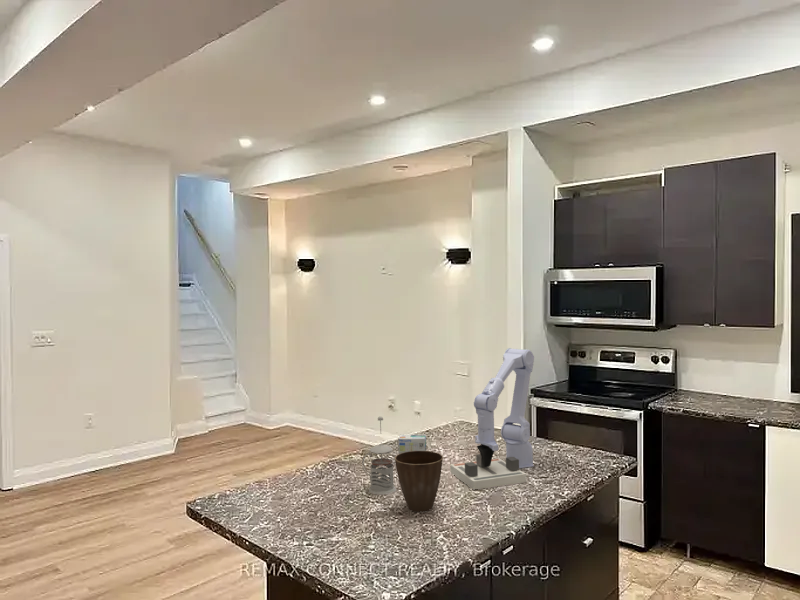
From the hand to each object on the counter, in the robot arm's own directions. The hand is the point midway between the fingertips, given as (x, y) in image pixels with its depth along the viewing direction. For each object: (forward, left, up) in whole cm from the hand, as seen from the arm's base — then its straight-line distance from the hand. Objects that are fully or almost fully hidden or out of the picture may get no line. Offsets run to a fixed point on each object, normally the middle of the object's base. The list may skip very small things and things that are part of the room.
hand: (486, 465), depth 212 cm
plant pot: (+32, +18, -4) cm, 37 cm away
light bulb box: (+19, -26, -4) cm, 33 cm away
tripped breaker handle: (0, -3, -1) cm, 4 cm away
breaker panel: (0, 0, -4) cm, 4 cm away
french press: (+39, -3, -4) cm, 39 cm away
